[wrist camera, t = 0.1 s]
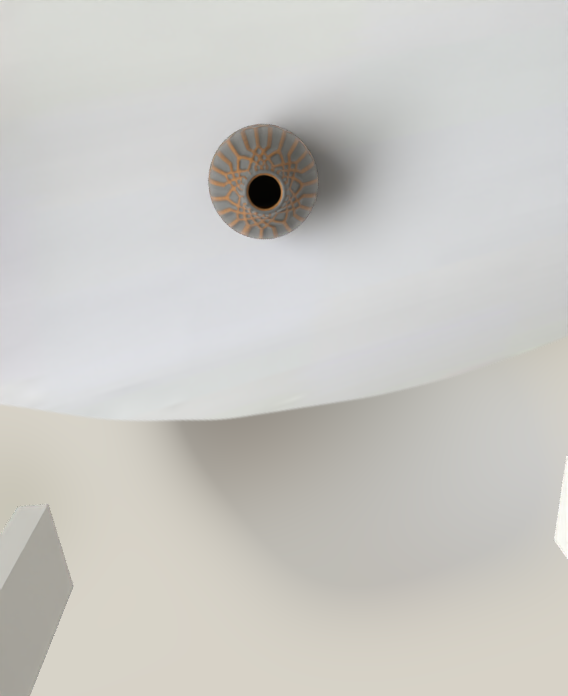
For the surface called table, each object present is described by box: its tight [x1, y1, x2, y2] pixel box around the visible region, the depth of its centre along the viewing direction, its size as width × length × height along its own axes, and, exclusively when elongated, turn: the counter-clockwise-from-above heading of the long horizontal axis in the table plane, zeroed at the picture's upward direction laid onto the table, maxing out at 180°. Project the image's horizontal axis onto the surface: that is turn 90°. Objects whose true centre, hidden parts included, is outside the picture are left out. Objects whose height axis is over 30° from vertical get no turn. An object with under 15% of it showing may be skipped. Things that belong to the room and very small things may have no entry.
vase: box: [208, 124, 318, 239], centre depth 33 cm, size 7×7×9 cm
